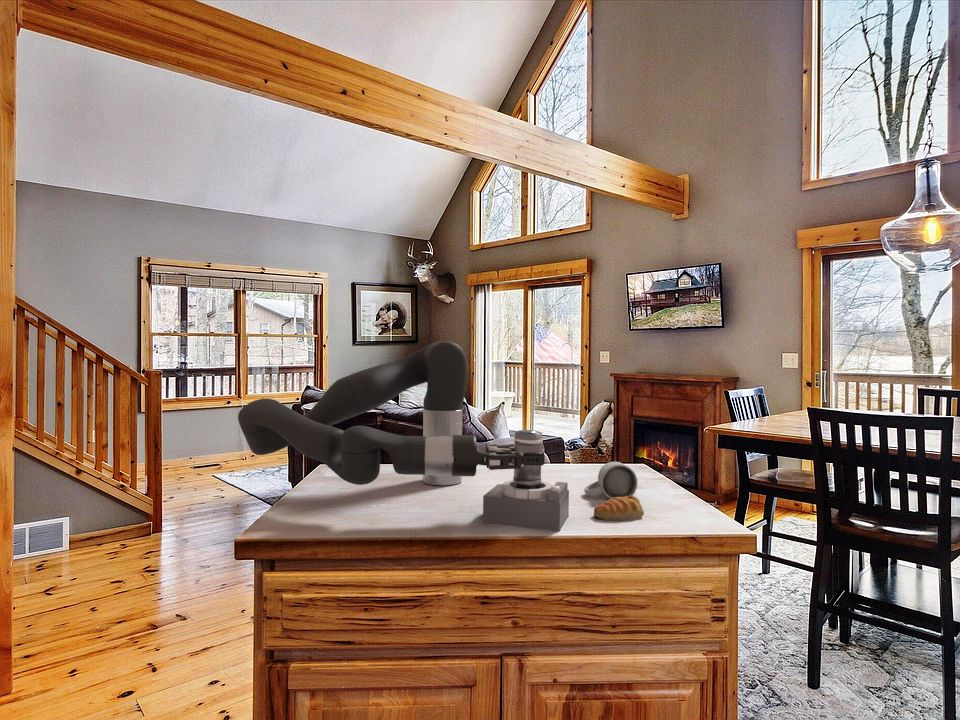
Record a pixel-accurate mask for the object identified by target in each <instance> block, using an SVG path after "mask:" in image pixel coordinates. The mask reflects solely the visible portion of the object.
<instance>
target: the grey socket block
mask: <svg viewBox="0 0 960 720" xmlns="http://www.w3.org/2000/svg"><path fill="white" fill-rule="evenodd" d="M568 484H569V483H568V482H567V481H566V482H564V481H556V483H554V484H552V483H550V482H548V481H544V480H541V488H539V489H519V488H514V484H513V479H511V480H506V481H504V482H503V483H500V484H499V483H497V484H496V485H495V486H493V487H492V488H491V489H490V490H489V491H487V493H485V494H483V496H482V498H483V500H482V505H483V506H482V524H486V525H496V526H497V525H498V526H505V527H514V528H515V527H516V528H525V529H533V530H535V529H536V530H545V531H554V532H560V531H561V530H562V528H563V527H564V525H565V523H566V521H567V520H568V517H569V509H570V489H568Z"/></svg>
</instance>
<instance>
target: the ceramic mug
mask: <svg viewBox="0 0 960 720" xmlns="http://www.w3.org/2000/svg"><path fill="white" fill-rule="evenodd" d="M597 479H598V480H597V481H594V482H592V483H590V484H588V485H587V486H585V488H584V489H583V492H584V494H585V496H586V497H587V496H588V497H587V498H590V497H595V496H598V495H601V494H604V495H605V496H606V497H607V498H609V499H611V498H614V497H625V496H635V495H634V494H635V493H636V491H637V489H638V477H637V475H636V473H635V471H634V470H633V469H632V468H631V467H630V466H628V465H626V464H624V463H622V462H619V461H609V462H607V463H605V464H603V465H602V466H601V467H600V470H599V471H598V474H597Z"/></svg>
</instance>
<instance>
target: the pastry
mask: <svg viewBox="0 0 960 720" xmlns="http://www.w3.org/2000/svg"><path fill="white" fill-rule="evenodd" d="M593 510H594V511H593V516H594V517H597V518H599V519H602V520H605V521H625V519H629V520H635V519H634V518H637V519H640V518H639V517H641V518H642V517H643V516H644V514H645V510H644V509H643V506H642V504H641V502H640V499H639V498H638V497H636V496H635V495H633V496H625V497H614V498H611V499H610V498H609V499H608V500H606V501H602V502H600V503H599V504H598V505H596V506H595V507H594V509H593Z"/></svg>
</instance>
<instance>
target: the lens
mask: <svg viewBox="0 0 960 720" xmlns="http://www.w3.org/2000/svg"><path fill="white" fill-rule="evenodd" d="M513 442H514V443H513V444H514V445H515V452H523V453H543V452H542V451H543V449H542V447H543V432H542V431H538V430H535V429H534V430H533V429H520V430H516V431H515V432H514V441H513ZM513 462H515V458H514V460H513ZM512 478H513V479H512V480H513V484H514V488H519V489H539V488H541V481H542V466H541V465H524V466H523V467H521V469H513V477H512Z"/></svg>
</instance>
